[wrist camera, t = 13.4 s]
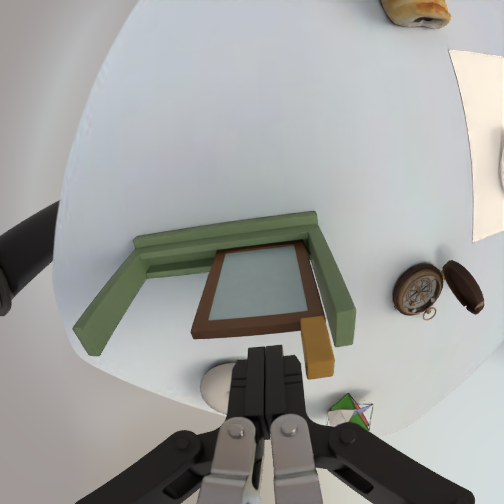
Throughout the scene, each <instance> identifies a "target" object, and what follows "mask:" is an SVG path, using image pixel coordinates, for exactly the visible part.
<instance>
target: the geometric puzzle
mask: <svg viewBox="0 0 504 504" xmlns="http://www.w3.org/2000/svg"><path fill="white" fill-rule="evenodd" d="M355 397H356V396H355ZM351 398H352V397H351V396H350V394H349V393H348V394H347V395H346V396H345V397H343V398H342V399H341V400H340V401H339V402H337V403H336V404H335V405H334V406H333V407H331V408H330V409H332V411H331V410H330V409H329V410H330V411H329V410H328V411H327V413H328V417H329V418H328V420H329V421H330V425H331V426H332V427H335V426H337V425H339V424H341V423H344V422H353V423H357V424H359V425H360V426H362V427H363V428H365V429H366V430H368V431H370V429H368V426H369V424H371V423H368V421H367V420H366V418H365V416H364V414H363V412H364V411H366V410H367V409H368V408H369V407H371V406H372V405H374V404H372V403H371V404H365V405H369V406H366V407H363V408H360V407H359V406H358V404H357V403H356V404H354V402H353V401H352V399H353V398H352V399H351ZM353 400H354V399H353ZM354 401H355V400H354ZM364 401H365V400H364ZM372 409H373V408H372ZM372 411H373V410H372ZM371 414H372V413H371ZM371 418H372V417H371ZM371 418H370V419H371ZM326 420H327V418H326ZM327 424H328V422H327Z"/></svg>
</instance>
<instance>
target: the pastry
mask: <svg viewBox="0 0 504 504" xmlns="http://www.w3.org/2000/svg"><path fill="white" fill-rule="evenodd" d="M381 2H382V6H383V8H384V11H385V13H386V14H387V15H388V16H389V18H390V19H391V20H392V21H393V22H394V23H395V24H397V25H402V26H407V27H414V26H426V27H429V28H437V29H438V28H442V27H444V26H445V25H447V24H448V23H449V22H450V18H451V15H450V13H449V12H448V10H447V6H446V3H445V0H381Z"/></svg>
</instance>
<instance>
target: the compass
mask: <svg viewBox="0 0 504 504" xmlns="http://www.w3.org/2000/svg"><path fill="white" fill-rule="evenodd" d="M443 279H444V280H445V279H446V282H447V284H448V285H449V287H450V289H451V290H452V292H453V294H454V295H455V296H456V298H457V299H458V300H459V302H460V303H461V304H462V305H463V306H467V307H466V309H467V310H468V311H470V312H471V313H473V314H478V313H479V312H480V311H481V310H482V309H483V307H484V298H483V294H482V292H481V289H480V287H479V285H478V284H477V282H476V280H475V279H474V278H473V276H472V275H471V274H470V273H469V271H468V270H467V269H466V268H464V267H463V266H462V265H461V264H459V263H458V262H455V261H453V260H451V261H448V262H447V263H446V264H445V265H444V266H443V270H442V271H441V272H440V270H439V269H437V268H436V267H435V266H433V265H431V264H421V265H417V266H415V267H413V268H411V269H410V270H409V271H407V272H406V273H405V274H404V275H403V276H402V277H401V278H400V280H399V281H398V283H397V285H396V286H395V290H394V293H393V301H394V304H395V306H394V307H395V309H396V308H397V310H398V311H399V312H400V313H402V314H404V315H416V314H419V313H422V312H424V311H425V310H426V311H425V312H424V314H423V319H424V320H426V321H427V320H430V319H432V318H433V317H434V316H435V314H436V309H435V308H433V307H431V306H432V305H433V304H434V303H435V301H436V300H437V298H438V297H439V295H440V293H441V290H442V288H443ZM430 307H431V308H430ZM430 309H435V314H434V315H433V316H432V317H431V318H430V319H425V318H424V315H425V313H426V312H427V314H429V313H430V312H431V310H430Z"/></svg>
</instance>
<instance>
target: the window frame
mask: <svg viewBox="0 0 504 504" xmlns="http://www.w3.org/2000/svg"><path fill="white" fill-rule="evenodd" d="M299 239H303V241H304V244H305V247H306V251H307V254H308V257H309V260H311V263H312V266H313V270H314V273H315V276H316V280H317V283H318V287H319V290H320V294H321V297H322V301H323V304H324V308H325V312H326V315H327V319H328V323H329V326H330V330H331V334H332V338H333V342H334V346H335V347H341V346H347V345H352V344H353V339H354V329H355V319H356V308H355V306H354V303H353V301H352V299H351V296H350V294H349V291H348V289H347V287H346V285H345V282H344V280H343V278H342V275H341V273H340V271H339V269H338V266H337V264H336V262H335V260H334V258H333V255H332V253H331V251H330V249H329V247H328V245H327V242H326V240H325V238H324V236H323V234H322V232H321V230H320V228H319V226H318V219H317V214H316V212H315V211H310V212H302V213H294V214H285V215H278V216H270V217H262V218H255V219H247V220H240V221H233V222H226V223H219V224H212V225H205V226H199V227H192V228H186V229H179V230H173V231H167V232H161V233H155V234H149V235H143V236H137V237H136V238H135V239H134V240H133V243H134V246H135V250H134V251H133V252H132V254H131V255H130V256H129V257H128V258H127V259H126V261H125V262H124V263H123V264H122V265H121V266H120V268H119V269H118V270H117V271H116V272H115V274H114V275H113V276H112V277H111V278H110V280H109V281H108V282H107V283H106V285H105V286H104V287H103V288H102V290H101V291H100V292H99V293H98V295H97V296H96V297H95V298H94V300H93V301H92V302H91V304H90V305H89V306H88V308H87V309H86V310H85V311H84V313H83V314H82V315H81V317H80V318H79V320H78V321H77V322H76V324H75V325H74V326H73V328H72V329H73V331H74V332H75V334H76V336H77V337H78V339H79V340H80V342H81V344H82V345H83V347H84V348H85V350H86V351H87V353H88V355H90V356H100V355H101V353H102V351H103V349H104V348H105V346H106V344H107V342H108V341H109V339H110V337H111V335H112V334H113V332H114V330H115V329H116V327H117V325H118V324H119V322H120V320H121V319H122V317H123V315H124V314H125V312H126V310H127V309H128V307H129V306H130V304H131V302H132V301H133V299H134V298H135V296H136V294H137V293H138V291H139V290H140V288H141V287H142V285H143V284H144V282H145V280H146V279H150V278H160V277H170V276H179V275H188V274H197V273H206V272H210V270H211V267H212V264H213V261H214V258H215V255H216V252H217V250H220V249H228V248H235V247H243V246H251V245H259V244H267V243H275V242H283V241H291V240H299Z"/></svg>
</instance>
